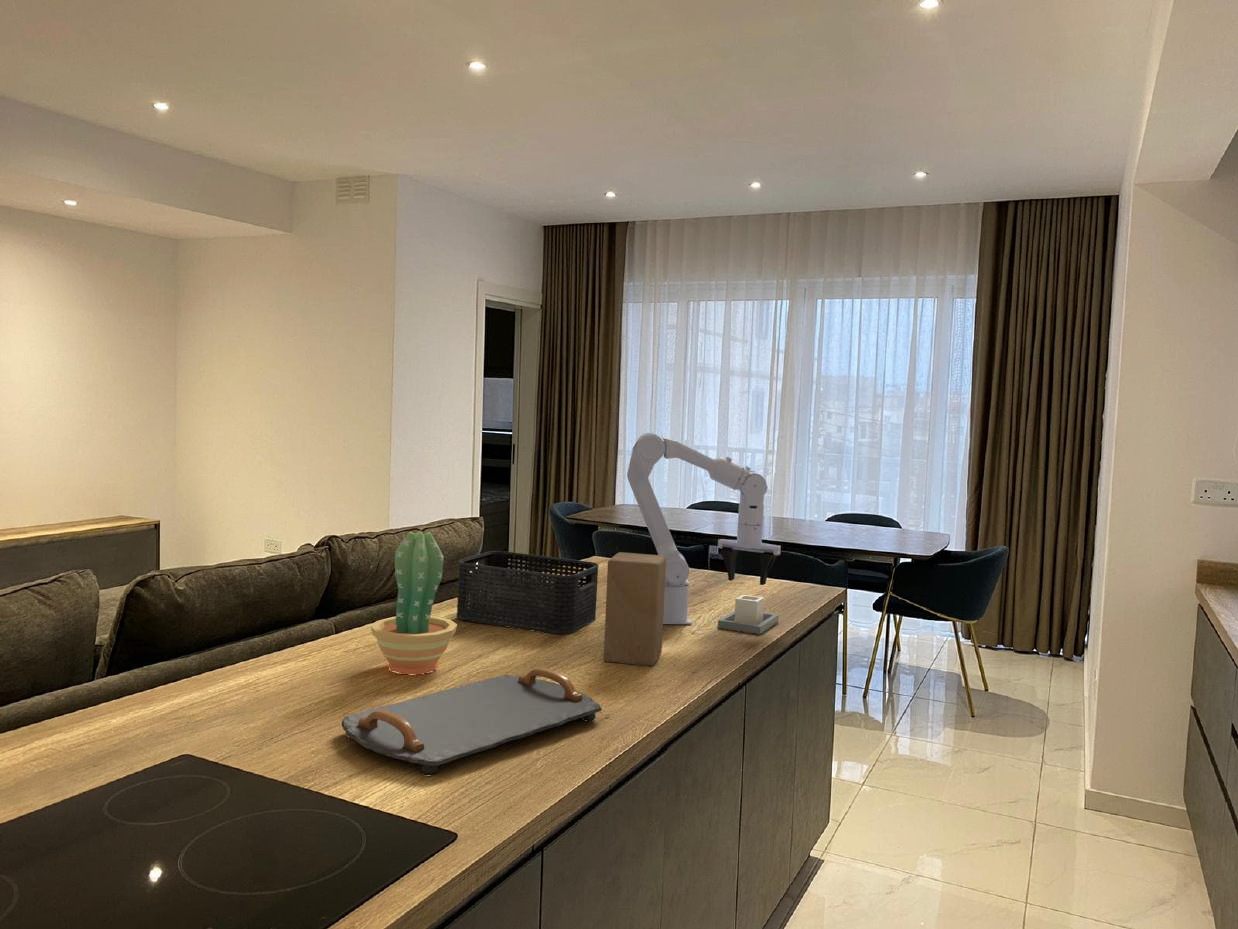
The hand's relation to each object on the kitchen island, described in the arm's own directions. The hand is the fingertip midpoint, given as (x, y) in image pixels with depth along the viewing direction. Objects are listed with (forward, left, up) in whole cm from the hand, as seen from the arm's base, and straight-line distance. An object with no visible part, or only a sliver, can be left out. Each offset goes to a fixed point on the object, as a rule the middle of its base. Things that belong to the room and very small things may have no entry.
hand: (746, 582), depth 211 cm
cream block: (+1, -1, -9) cm, 10 cm away
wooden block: (-31, -28, -10) cm, 43 cm away
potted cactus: (-73, -35, -10) cm, 81 cm away
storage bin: (-50, +3, -10) cm, 51 cm away
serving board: (-61, -65, -11) cm, 90 cm away
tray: (+1, -1, -10) cm, 10 cm away
